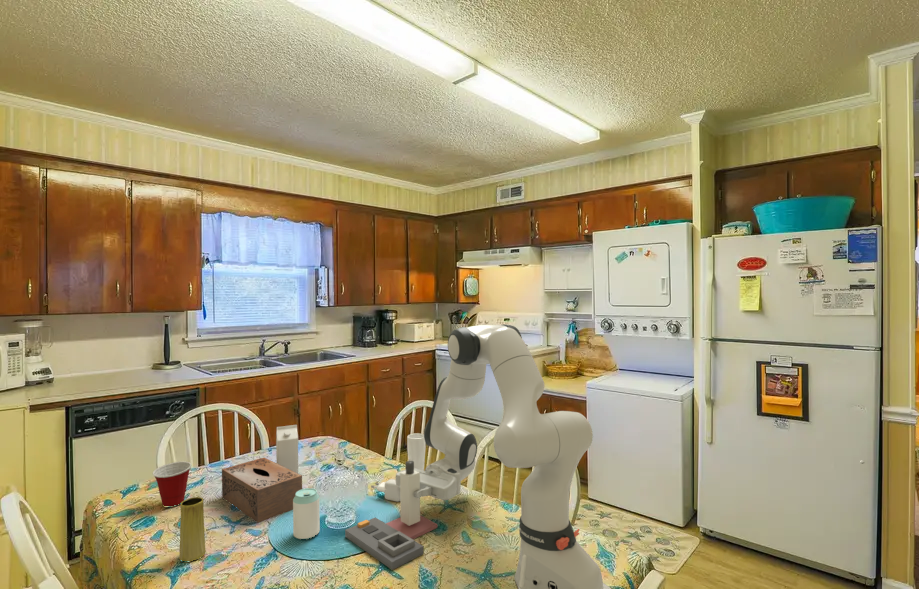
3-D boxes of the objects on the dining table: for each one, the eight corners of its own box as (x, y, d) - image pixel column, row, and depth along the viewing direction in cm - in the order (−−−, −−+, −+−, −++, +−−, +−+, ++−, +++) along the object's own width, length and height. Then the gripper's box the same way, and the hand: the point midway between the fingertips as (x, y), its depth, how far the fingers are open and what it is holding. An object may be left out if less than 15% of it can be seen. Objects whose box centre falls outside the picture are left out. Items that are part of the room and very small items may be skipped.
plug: (420, 520, 134) (419, 462, 134) (409, 525, 131) (408, 465, 131) (411, 516, 137) (410, 458, 137) (400, 520, 134) (400, 462, 134)
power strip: (423, 553, 121) (423, 540, 121) (392, 570, 114) (392, 555, 114) (375, 524, 137) (375, 512, 136) (345, 536, 130) (345, 524, 130)
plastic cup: (144, 510, 147) (143, 472, 147) (172, 495, 157) (172, 460, 157) (172, 513, 144) (172, 475, 144) (199, 498, 155) (199, 462, 155)
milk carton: (276, 475, 174) (275, 424, 174) (296, 472, 177) (296, 422, 177) (277, 482, 168) (277, 429, 168) (298, 478, 171) (297, 427, 171)
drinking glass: (422, 480, 168) (422, 439, 168) (405, 479, 169) (404, 438, 169) (428, 473, 174) (427, 433, 174) (410, 472, 176) (410, 432, 176)
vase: (200, 547, 125) (199, 494, 125) (210, 555, 121) (209, 500, 121) (175, 557, 120) (174, 502, 120) (184, 565, 116) (183, 509, 116)
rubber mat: (437, 527, 134) (437, 524, 134) (407, 542, 126) (407, 538, 126) (413, 514, 142) (413, 511, 142) (383, 527, 134) (383, 524, 134)
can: (325, 532, 132) (324, 490, 132) (305, 543, 126) (304, 499, 126) (307, 525, 136) (307, 485, 136) (287, 537, 130) (287, 494, 130)
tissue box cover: (222, 499, 155) (221, 469, 155) (264, 485, 166) (264, 457, 166) (257, 523, 138) (257, 490, 138) (302, 506, 149) (302, 475, 149)
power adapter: (369, 497, 154) (369, 480, 154) (377, 492, 159) (377, 474, 159) (398, 503, 150) (398, 485, 150) (406, 497, 154) (405, 479, 154)
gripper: (412, 460, 151) (382, 473, 140) (464, 473, 139) (435, 490, 128) (413, 479, 151) (382, 494, 140) (464, 494, 139) (435, 513, 128)
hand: (408, 492), depth 133 cm, fingers closed on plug, 4 cm apart
